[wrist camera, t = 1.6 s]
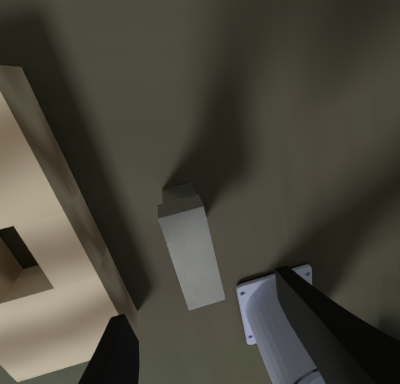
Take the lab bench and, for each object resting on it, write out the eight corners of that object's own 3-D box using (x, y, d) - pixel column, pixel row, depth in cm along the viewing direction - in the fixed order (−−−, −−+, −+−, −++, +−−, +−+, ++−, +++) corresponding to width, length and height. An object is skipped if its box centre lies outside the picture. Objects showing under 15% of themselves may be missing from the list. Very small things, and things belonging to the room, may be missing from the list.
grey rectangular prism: (204, 236, 22) (225, 299, 16) (178, 244, 22) (188, 310, 16) (186, 164, 19) (203, 206, 13) (156, 172, 19) (158, 218, 13)
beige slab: (137, 312, 24) (135, 346, 21) (35, 342, 24) (17, 382, 21) (21, 67, 15) (-15, 63, 12) (-156, 106, 14) (-245, 114, 11)
